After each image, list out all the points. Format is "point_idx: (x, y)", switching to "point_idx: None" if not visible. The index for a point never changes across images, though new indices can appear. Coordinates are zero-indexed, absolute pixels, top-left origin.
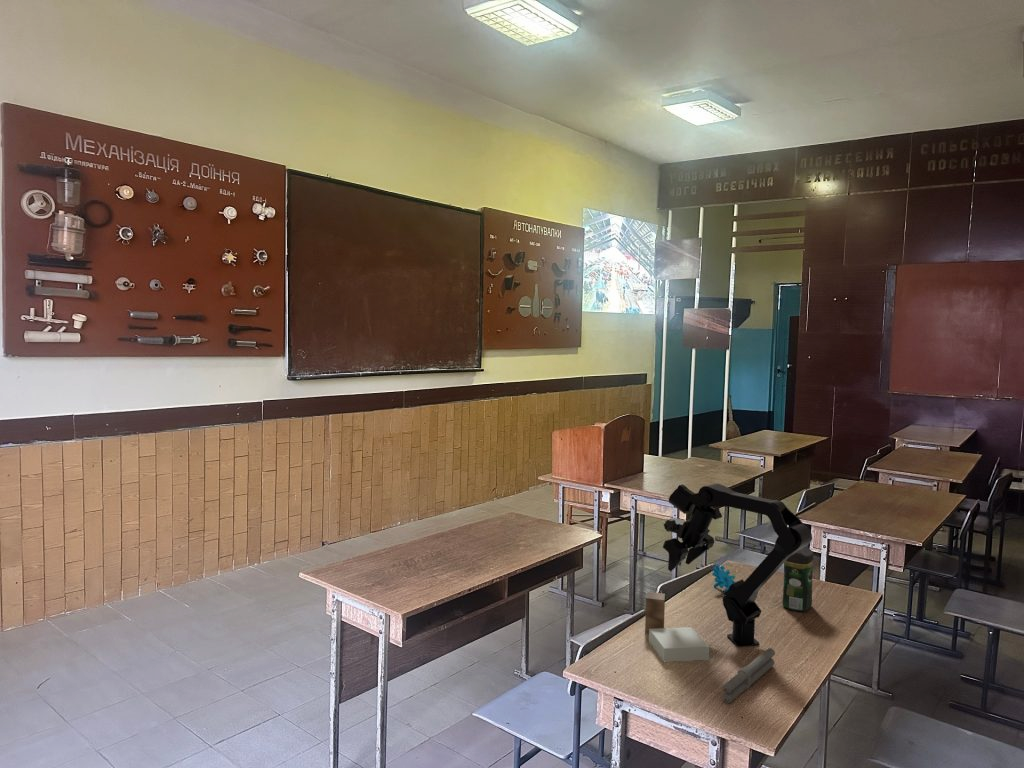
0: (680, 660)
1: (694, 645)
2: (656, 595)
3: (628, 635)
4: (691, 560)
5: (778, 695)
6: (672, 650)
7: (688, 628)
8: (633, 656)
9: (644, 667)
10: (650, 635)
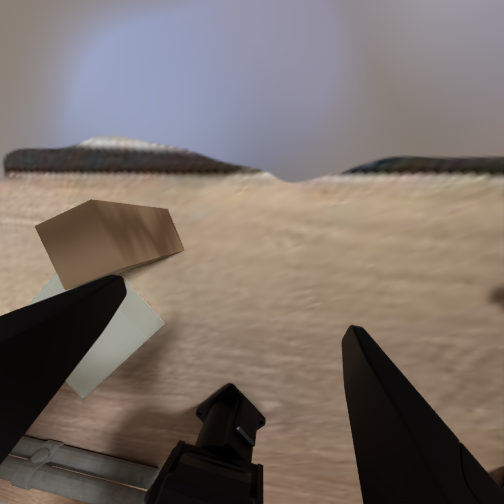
0: None
1: None
2: (83, 247)
3: (95, 199)
4: (348, 399)
5: None
6: None
7: (136, 334)
8: (24, 255)
9: (5, 290)
10: None
